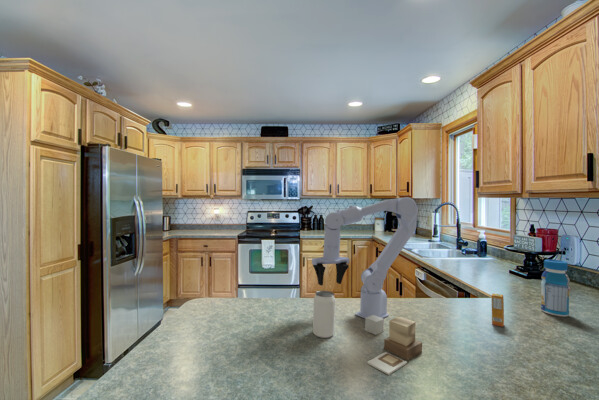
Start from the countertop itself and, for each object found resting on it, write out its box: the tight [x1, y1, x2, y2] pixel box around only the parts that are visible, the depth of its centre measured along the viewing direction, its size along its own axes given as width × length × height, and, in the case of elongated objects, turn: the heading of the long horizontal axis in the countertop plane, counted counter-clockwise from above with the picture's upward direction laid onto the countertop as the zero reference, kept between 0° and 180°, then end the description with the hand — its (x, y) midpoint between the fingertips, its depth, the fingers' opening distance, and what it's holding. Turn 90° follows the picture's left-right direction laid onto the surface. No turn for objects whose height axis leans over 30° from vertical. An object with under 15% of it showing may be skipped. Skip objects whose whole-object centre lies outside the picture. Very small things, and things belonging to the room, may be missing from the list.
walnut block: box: [383, 336, 423, 361], centre depth 77 cm, size 7×7×3 cm
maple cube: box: [388, 316, 416, 346], centre depth 78 cm, size 5×5×5 cm
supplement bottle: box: [540, 259, 571, 317], centre depth 110 cm, size 8×8×20 cm
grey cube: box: [364, 315, 385, 336], centre depth 89 cm, size 4×4×4 cm
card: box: [366, 351, 407, 376], centre depth 70 cm, size 8×6×1 cm
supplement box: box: [491, 293, 505, 328], centre depth 97 cm, size 3×3×10 cm
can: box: [312, 290, 336, 339], centre depth 86 cm, size 6×6×12 cm
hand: (329, 283), depth 102 cm, fingers open, 7 cm apart
